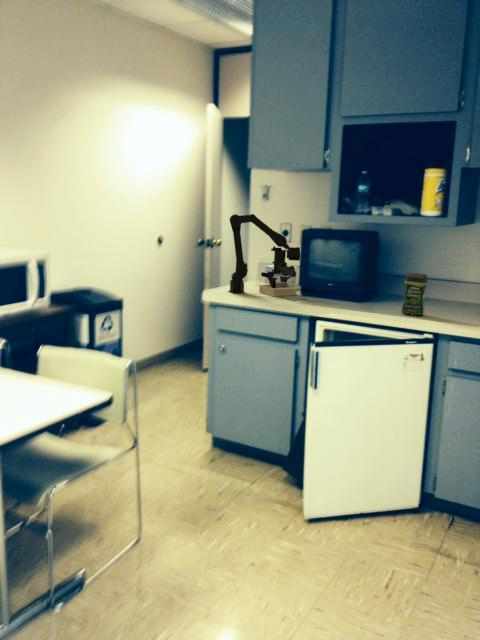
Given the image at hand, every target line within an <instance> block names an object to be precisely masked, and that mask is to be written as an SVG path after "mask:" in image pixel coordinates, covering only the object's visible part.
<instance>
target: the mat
mask: <svg viewBox="0 0 480 640" xmlns="http://www.w3.org/2000/svg"><path fill="white" fill-rule="evenodd" d="M281 298H282V299H286V300H289V301H294V302H295V301H305V300H308V301H309V300H310V298H308V297H304V296H300V295H287V296H281Z"/></svg>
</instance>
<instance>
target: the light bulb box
mask: <svg viewBox="0 0 480 640" xmlns="http://www.w3.org/2000/svg"><path fill="white" fill-rule="evenodd" d="M272 269H274V264H273V265H265V269H264V271H272ZM276 278H277V279H276V281H280V275H276ZM264 284H269V280H268V278H266V277H264Z"/></svg>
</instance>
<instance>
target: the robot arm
mask: <svg viewBox="0 0 480 640" xmlns="http://www.w3.org/2000/svg"><path fill="white" fill-rule="evenodd" d="M244 223H245V224H246V223H247V224H248V223H252V224H253V225H254V226H255V227H257V228H258V229H259V230H261V231H262V232H263V233H264V234H266V235H267V236H268V237H269V238H270V239H271V240H272V242H273V243H274V244H275V245H276V246H277V247H276V246H275V245H274V246H273V247H272V248H270V250H271V252H274V253H273V255H274V256H273V260H272V264H273V265H274V269H272V271H265V270H262V272H261V273H260V275H261V277H264V278H265V277H266V278H268V280H269V282H270V284H271V286H272V288H275V284H276V279H277V278H276V275H282V276H280V282H287V280H288V279H289V278H291V277H290V276H296V271H295V267H296V266H294V265H288V262H286V259H288V261H295V262H296V261H300V260H301V247H300V246H296V247H292V246H291V247H290V245H289V244H288V242H287V241H288V240H287V238H286V236H284V235H283V234H281V233H279V232H277V231H275V230H273V229H272V228H271V226H268V225H267V224H265V223H264V222H263V220H261V219H260V218H258V216H256V215H255V214H254V213H250V214H242V215H240V214H236V213H234V214H232V215H231V216H230V217H229V224H230V226H231V227H230V228H231V230H232V235H233V243H234V251H235V260H236V261H235V271H234V272H233V273H232V274H231V279H230V280H229V290H228V291H227V292H229V293H233V294H242V293H243V294H245V293H246V291H245V283H244V281H245V280H244V278H246V276H247V274H248V272H249V270H248V262H245V261H244V255H243V254H244V253H243V245H242V235H241V230H242V229H241V228H242V224H244ZM288 266H290V267H288Z"/></svg>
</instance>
